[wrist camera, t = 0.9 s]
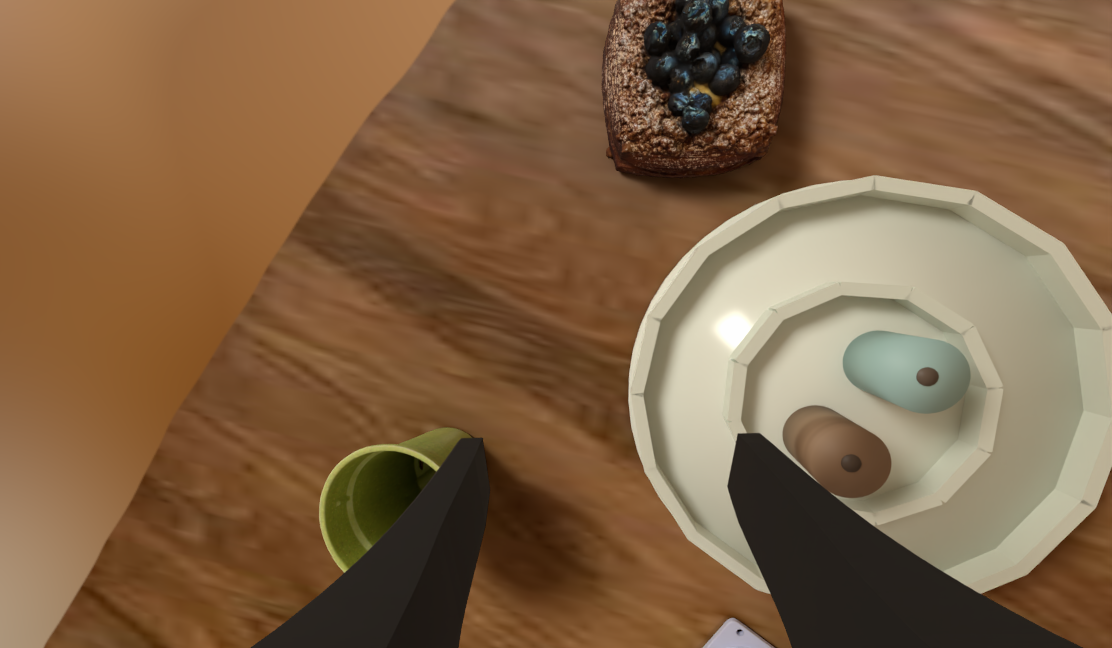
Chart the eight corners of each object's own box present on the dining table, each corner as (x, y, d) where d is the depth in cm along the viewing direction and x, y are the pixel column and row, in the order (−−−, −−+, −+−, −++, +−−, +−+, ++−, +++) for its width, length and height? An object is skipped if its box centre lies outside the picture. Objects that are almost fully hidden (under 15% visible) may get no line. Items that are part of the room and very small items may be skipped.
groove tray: (1201, 348, 25) (1264, 354, 22) (880, 669, 29) (903, 705, 27) (793, 100, 27) (809, 81, 25) (554, 432, 32) (548, 444, 29)
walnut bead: (862, 429, 27) (909, 457, 23) (821, 476, 28) (859, 512, 23) (808, 393, 28) (843, 413, 23) (769, 440, 28) (796, 469, 24)
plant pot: (398, 398, 34) (320, 435, 25) (512, 413, 32) (470, 458, 24) (393, 509, 35) (317, 582, 26) (504, 529, 33) (461, 613, 25)
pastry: (604, 188, 30) (599, 164, 24) (601, 9, 29) (594, -60, 23) (771, 176, 28) (809, 148, 22) (773, -15, 27) (812, -98, 21)
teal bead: (927, 354, 26) (989, 368, 22) (883, 405, 27) (935, 428, 22) (870, 317, 27) (920, 324, 22) (828, 368, 27) (868, 384, 23)
